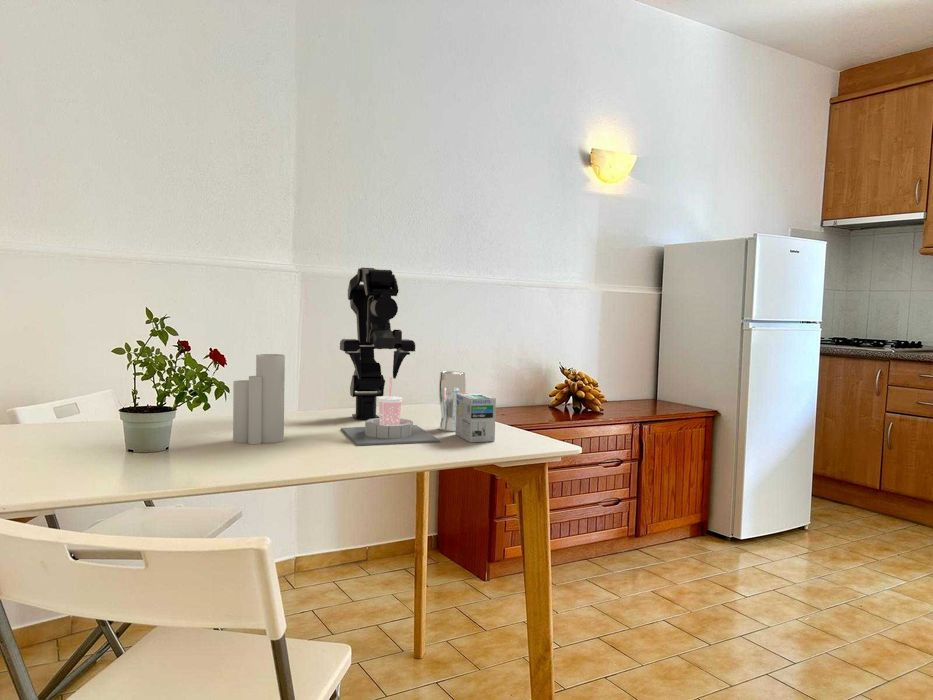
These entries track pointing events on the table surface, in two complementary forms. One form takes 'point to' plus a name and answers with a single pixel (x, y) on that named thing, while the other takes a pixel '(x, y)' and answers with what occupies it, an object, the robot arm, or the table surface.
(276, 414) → the vase
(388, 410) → the beverage cup
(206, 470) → the table surface
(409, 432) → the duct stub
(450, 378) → the beer glass
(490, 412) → the light bulb box
